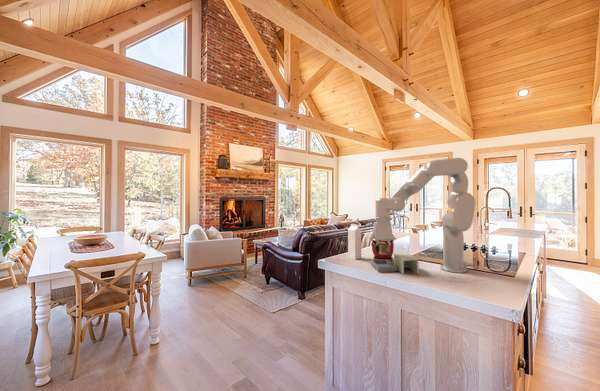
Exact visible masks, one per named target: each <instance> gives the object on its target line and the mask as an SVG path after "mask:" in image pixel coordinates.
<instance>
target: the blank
mask: <svg viewBox="0 0 600 391" xmlns="http://www.w3.org/2000/svg"><path fill="white" fill-rule="evenodd" d="M378 245H379V254H381V255H390V245H388V244H387V243H385V242H379V243H378Z"/></svg>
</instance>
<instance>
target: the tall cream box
mask: <svg viewBox="0 0 600 391" xmlns="http://www.w3.org/2000/svg"><path fill="white" fill-rule="evenodd" d="M393 264H394V265H395V266H397V272H399V273H401V274H402V275H404V274H405V268H408V269H410V270H411V271H413V272H414V273H416V274H417V275H418V274H419V258H418V257H416V256H414V255H412V254H410V253H407V252H405V253H393Z"/></svg>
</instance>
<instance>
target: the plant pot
mask: <svg viewBox="0 0 600 391" xmlns="http://www.w3.org/2000/svg"><path fill="white" fill-rule="evenodd" d="M379 242H385V243H387V242H386V240H379ZM394 243H395V242H394V241H393V242H392V243H391V245H390V255H381V254H379V253H378V252H376V250H375V244H374V243H373V242H372V241H371V250H372V253H373V260H385V259H387V260H389V261H390V262H392V261H394V256H393V255H394V248H395V247H394V246H395V244H394Z"/></svg>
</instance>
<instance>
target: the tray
mask: <svg viewBox="0 0 600 391" xmlns="http://www.w3.org/2000/svg"><path fill="white" fill-rule="evenodd" d="M370 265H371V267H373V268H374V270H375V271H376V272H378V273H397V272H398V270H397V266H395V265H394V262H392V261H389V260H387V259H385V260H375V259H370Z"/></svg>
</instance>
